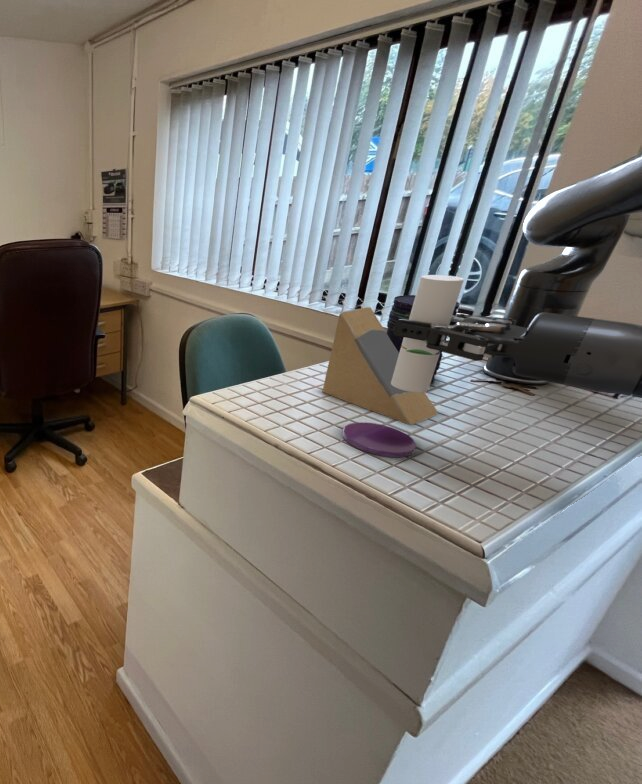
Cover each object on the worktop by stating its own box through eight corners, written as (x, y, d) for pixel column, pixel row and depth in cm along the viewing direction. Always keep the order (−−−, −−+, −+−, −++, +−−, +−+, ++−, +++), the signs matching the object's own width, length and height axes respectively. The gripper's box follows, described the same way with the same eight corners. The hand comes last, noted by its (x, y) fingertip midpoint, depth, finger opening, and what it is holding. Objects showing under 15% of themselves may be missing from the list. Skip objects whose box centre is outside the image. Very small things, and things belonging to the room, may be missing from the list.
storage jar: (425, 390, 84) (457, 292, 77) (365, 375, 91) (389, 284, 84) (441, 376, 90) (472, 283, 82) (384, 363, 97) (408, 277, 89)
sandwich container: (411, 426, 72) (441, 334, 66) (320, 392, 84) (339, 312, 78) (441, 413, 75) (472, 325, 69) (350, 382, 88) (369, 305, 82)
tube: (383, 381, 66) (412, 275, 60) (411, 379, 66) (443, 274, 60) (406, 393, 62) (440, 281, 56) (436, 391, 62) (473, 279, 56)
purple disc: (344, 421, 74) (345, 417, 73) (413, 435, 69) (414, 431, 69) (340, 446, 67) (341, 441, 67) (416, 464, 62) (418, 459, 62)
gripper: (607, 308, 53) (428, 288, 65) (587, 332, 45) (388, 304, 57) (579, 369, 56) (413, 339, 68) (556, 401, 48) (373, 360, 60)
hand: (403, 323), depth 63 cm, fingers closed on tube, 4 cm apart
